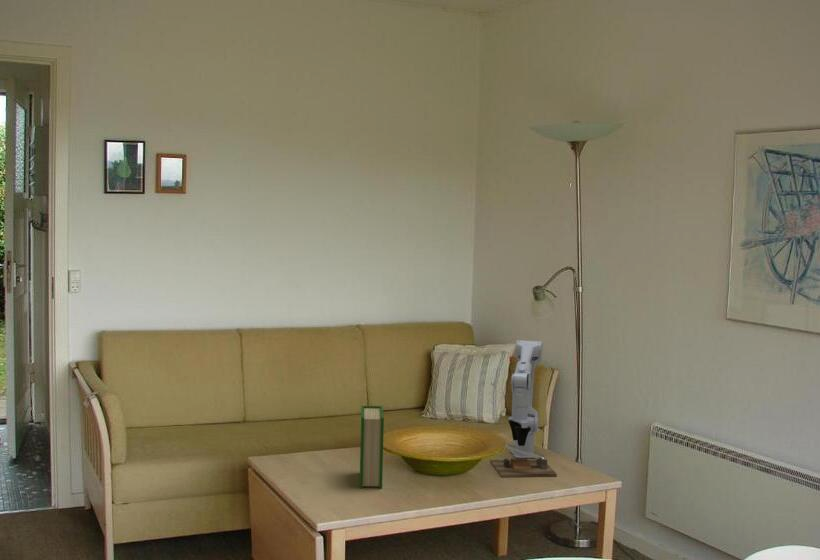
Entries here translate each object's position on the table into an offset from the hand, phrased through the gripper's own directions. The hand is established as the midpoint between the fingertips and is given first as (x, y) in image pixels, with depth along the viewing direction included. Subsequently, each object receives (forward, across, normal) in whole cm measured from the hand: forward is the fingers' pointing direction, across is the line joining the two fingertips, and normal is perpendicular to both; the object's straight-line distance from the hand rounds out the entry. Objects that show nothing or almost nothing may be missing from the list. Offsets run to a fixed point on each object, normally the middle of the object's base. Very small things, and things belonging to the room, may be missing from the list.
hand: (518, 442), depth 323 cm
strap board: (+10, 0, +2) cm, 10 cm away
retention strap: (+4, 0, +2) cm, 5 cm away
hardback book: (+10, +10, -54) cm, 56 cm away
